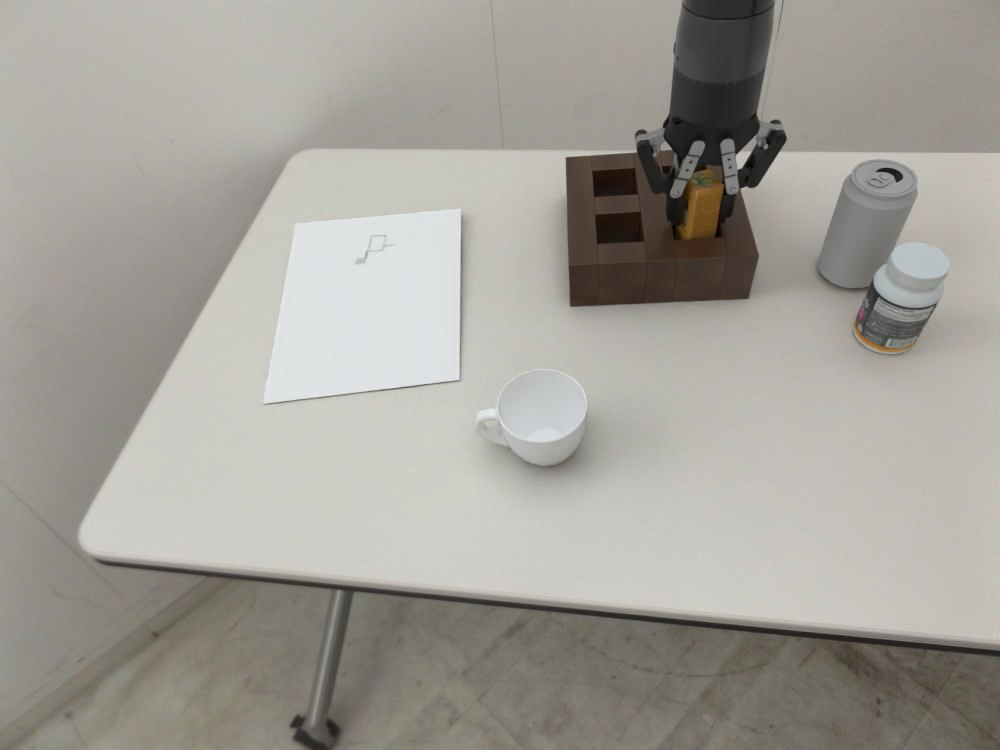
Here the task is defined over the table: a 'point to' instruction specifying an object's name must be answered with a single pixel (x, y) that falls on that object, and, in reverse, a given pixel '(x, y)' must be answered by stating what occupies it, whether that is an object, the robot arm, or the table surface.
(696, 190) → the supplement box
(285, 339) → the paper sheet
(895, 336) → the pill bottle
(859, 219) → the beverage can
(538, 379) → the cup
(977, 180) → the table surface
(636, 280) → the peg board
